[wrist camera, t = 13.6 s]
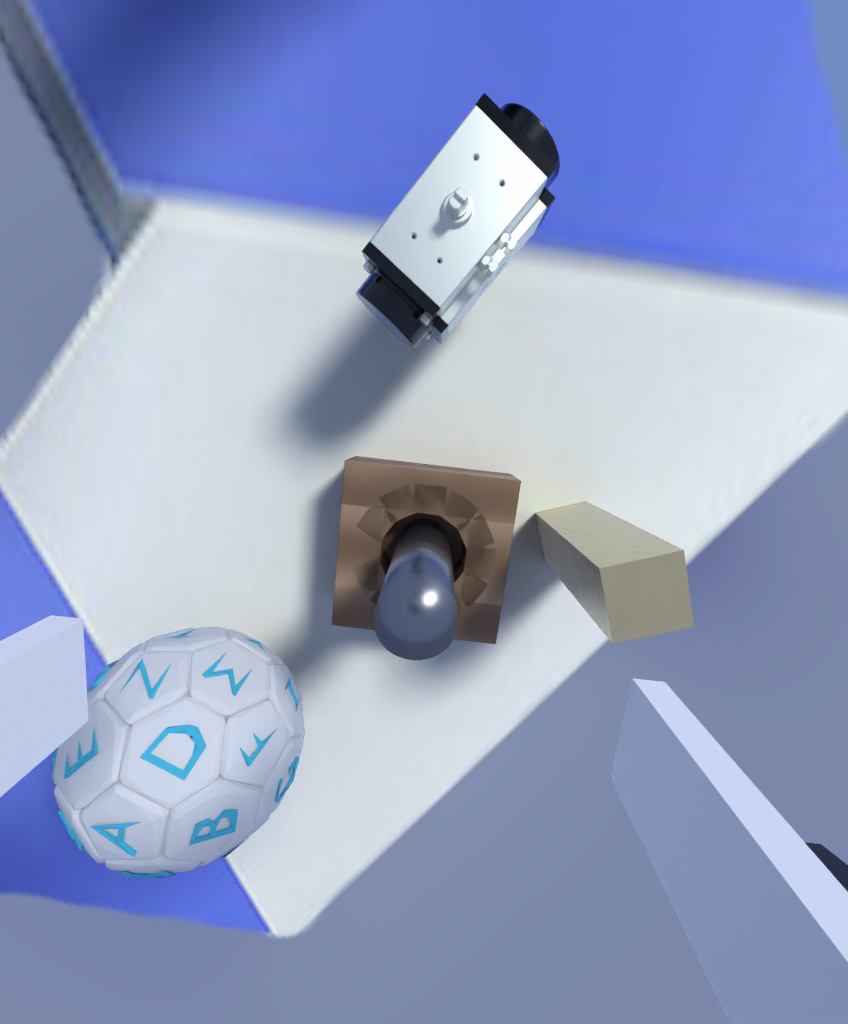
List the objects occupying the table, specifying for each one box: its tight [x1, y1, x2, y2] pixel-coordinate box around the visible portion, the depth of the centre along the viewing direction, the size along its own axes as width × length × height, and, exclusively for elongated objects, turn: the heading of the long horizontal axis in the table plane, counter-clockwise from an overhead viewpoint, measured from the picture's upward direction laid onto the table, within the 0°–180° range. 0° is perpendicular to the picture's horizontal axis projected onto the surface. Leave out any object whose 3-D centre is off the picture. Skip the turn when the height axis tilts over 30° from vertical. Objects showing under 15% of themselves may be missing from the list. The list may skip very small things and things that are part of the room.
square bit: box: [536, 501, 694, 644], centre depth 29 cm, size 4×4×14 cm
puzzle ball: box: [51, 627, 305, 878], centre depth 31 cm, size 15×15×15 cm
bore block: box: [332, 456, 521, 644], centre depth 34 cm, size 12×12×4 cm
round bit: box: [373, 518, 458, 660], centre depth 28 cm, size 4×4×14 cm
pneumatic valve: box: [356, 93, 560, 348], centre depth 26 cm, size 6×12×12 cm, turn 139°
